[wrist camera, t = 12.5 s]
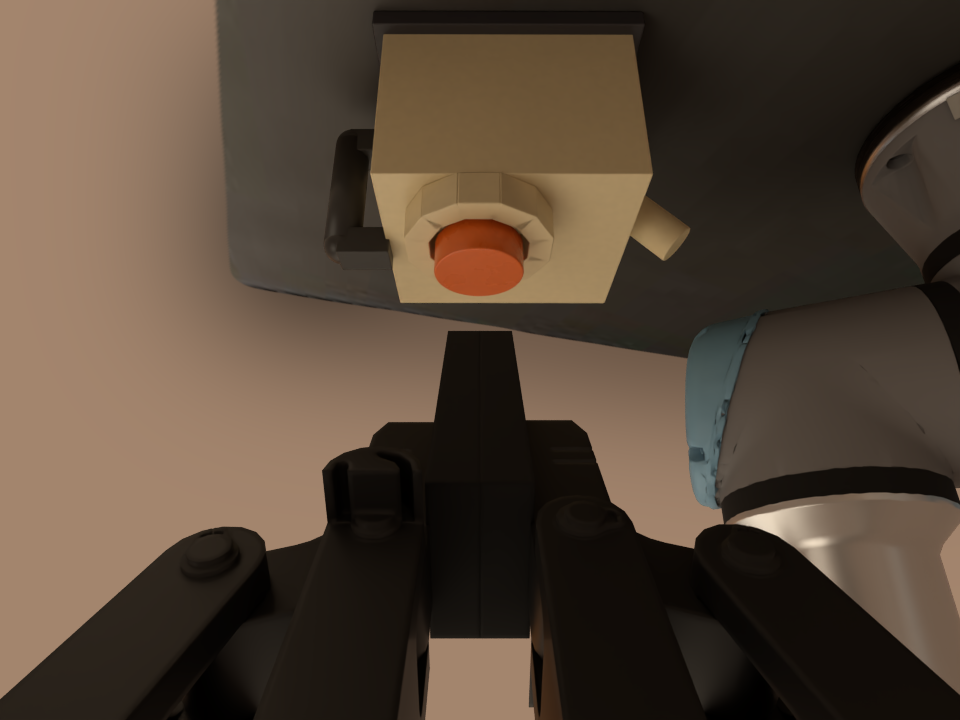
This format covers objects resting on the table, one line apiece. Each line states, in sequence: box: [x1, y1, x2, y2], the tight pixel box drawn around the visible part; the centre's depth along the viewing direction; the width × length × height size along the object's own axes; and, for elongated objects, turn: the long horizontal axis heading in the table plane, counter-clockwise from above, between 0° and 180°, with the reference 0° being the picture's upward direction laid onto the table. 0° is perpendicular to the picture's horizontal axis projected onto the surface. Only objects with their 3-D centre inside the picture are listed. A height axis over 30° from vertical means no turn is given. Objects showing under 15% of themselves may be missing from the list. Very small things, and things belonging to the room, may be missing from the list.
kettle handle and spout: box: [324, 11, 690, 270], centre depth 36 cm, size 20×13×11 cm, turn 90°
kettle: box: [370, 34, 653, 303], centre depth 35 cm, size 13×12×12 cm
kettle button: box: [434, 219, 524, 296], centre depth 30 cm, size 4×4×2 cm
